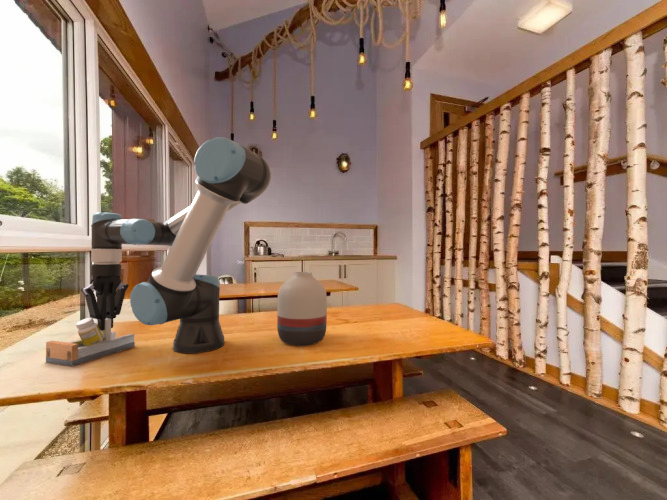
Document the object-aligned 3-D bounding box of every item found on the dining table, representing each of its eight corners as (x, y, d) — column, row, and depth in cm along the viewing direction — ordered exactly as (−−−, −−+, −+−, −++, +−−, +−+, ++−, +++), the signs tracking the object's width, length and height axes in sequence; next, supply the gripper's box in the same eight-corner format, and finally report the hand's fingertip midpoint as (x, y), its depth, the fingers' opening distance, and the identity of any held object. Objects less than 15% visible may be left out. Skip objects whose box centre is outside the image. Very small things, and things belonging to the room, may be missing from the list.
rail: (134, 346, 97) (134, 329, 97) (71, 366, 80) (71, 345, 80) (111, 343, 100) (111, 326, 100) (45, 362, 83) (46, 342, 83)
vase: (315, 351, 94) (316, 274, 94) (267, 345, 99) (268, 273, 100) (333, 336, 110) (333, 271, 110) (291, 332, 115) (291, 270, 116)
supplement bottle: (94, 342, 93) (82, 318, 90) (109, 339, 92) (97, 315, 90) (82, 351, 88) (69, 326, 85) (97, 349, 88) (85, 323, 85)
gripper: (118, 262, 101) (117, 333, 101) (74, 263, 88) (73, 344, 88) (135, 263, 98) (134, 335, 98) (92, 264, 86) (91, 347, 86)
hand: (105, 339), depth 93 cm, fingers closed
